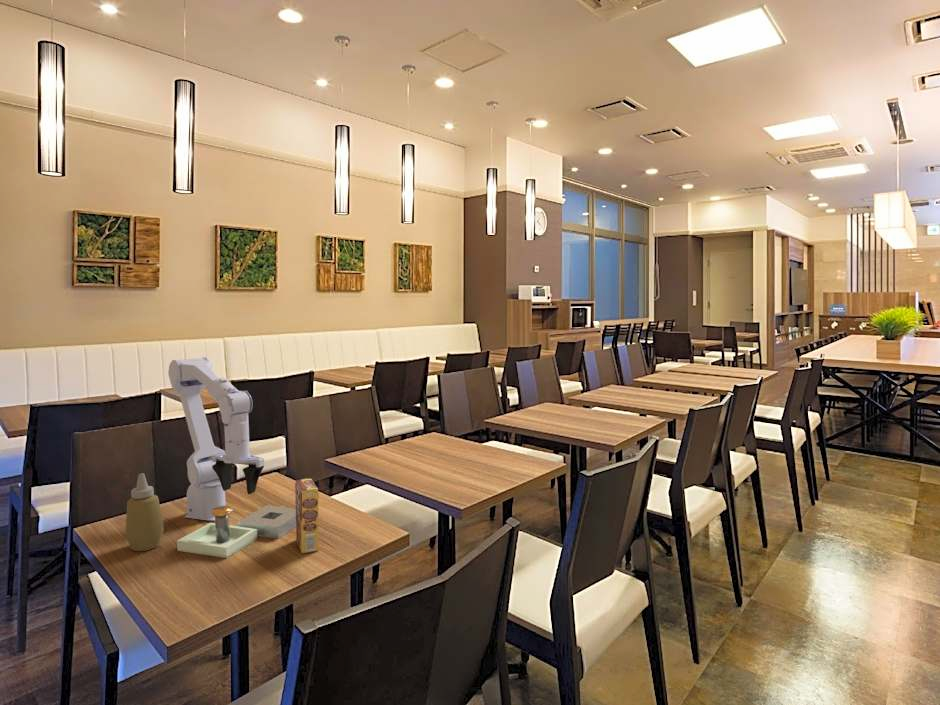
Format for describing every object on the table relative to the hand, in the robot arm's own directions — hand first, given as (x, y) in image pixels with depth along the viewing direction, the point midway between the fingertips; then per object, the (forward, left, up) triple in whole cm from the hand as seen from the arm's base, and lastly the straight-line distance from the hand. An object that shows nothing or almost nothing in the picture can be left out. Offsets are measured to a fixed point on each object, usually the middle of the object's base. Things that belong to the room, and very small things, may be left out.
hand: (239, 491), depth 146 cm
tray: (+1, -9, -10) cm, 14 cm away
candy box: (+22, -3, -11) cm, 24 cm away
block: (+7, +4, -10) cm, 13 cm away
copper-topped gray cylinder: (+1, -8, -10) cm, 13 cm away
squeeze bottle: (-15, -15, -11) cm, 24 cm away
